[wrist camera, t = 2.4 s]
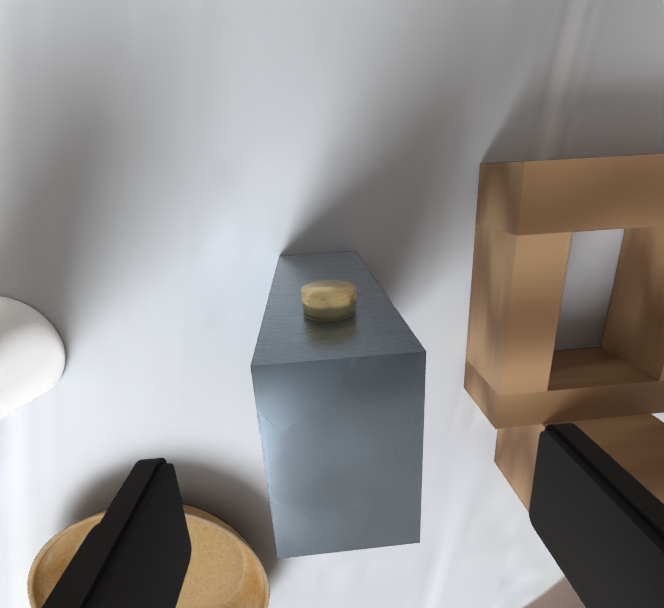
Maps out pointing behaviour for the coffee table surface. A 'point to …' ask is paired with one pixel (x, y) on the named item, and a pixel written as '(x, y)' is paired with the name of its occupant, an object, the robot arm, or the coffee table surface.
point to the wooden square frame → (544, 307)
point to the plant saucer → (202, 575)
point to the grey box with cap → (338, 409)
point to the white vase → (26, 355)
